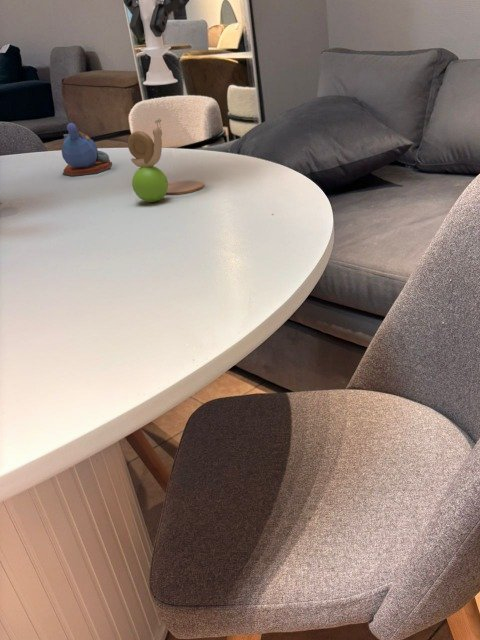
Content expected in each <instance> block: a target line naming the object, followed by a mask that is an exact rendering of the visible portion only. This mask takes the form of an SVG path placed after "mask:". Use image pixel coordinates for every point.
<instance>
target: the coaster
mask: <svg viewBox="0 0 480 640" xmlns="http://www.w3.org/2000/svg"><path fill="white" fill-rule="evenodd" d="M204 188H205V182H203V181H201V180H179V181H173V182H168V189H167V192H166V194H165V196H175V195H176V196H177V195H178V196H179V195H185V194H190V193H194V192H197V191H200V190H202V189H204Z"/></svg>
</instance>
